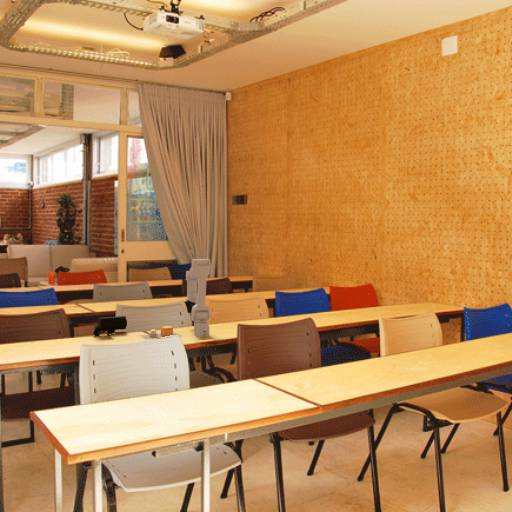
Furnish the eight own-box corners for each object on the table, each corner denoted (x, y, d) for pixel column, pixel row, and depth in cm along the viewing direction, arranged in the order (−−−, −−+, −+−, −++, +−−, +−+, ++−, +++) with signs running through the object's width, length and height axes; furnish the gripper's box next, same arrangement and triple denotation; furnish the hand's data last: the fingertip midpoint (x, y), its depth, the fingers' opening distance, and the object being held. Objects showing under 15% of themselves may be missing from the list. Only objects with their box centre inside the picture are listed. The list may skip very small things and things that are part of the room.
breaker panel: (180, 338, 354) (180, 333, 354) (146, 341, 345) (146, 336, 345) (173, 334, 365) (173, 329, 364) (139, 337, 355) (139, 332, 355)
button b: (156, 333, 352) (156, 330, 352) (151, 334, 351) (151, 330, 351) (154, 333, 354) (154, 329, 354) (150, 333, 353) (150, 329, 353)
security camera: (92, 335, 361) (92, 317, 360) (124, 332, 369) (124, 315, 368) (95, 337, 355) (94, 319, 354) (127, 334, 363) (127, 317, 362)
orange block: (173, 335, 355) (173, 327, 355) (163, 336, 353) (163, 328, 353) (169, 333, 360) (169, 325, 360) (160, 334, 358) (160, 326, 357)
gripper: (181, 290, 382) (181, 312, 383) (190, 293, 369) (190, 316, 370) (192, 289, 385) (192, 311, 386) (201, 292, 372) (201, 315, 373)
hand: (192, 313), depth 378 cm, fingers open, 7 cm apart
